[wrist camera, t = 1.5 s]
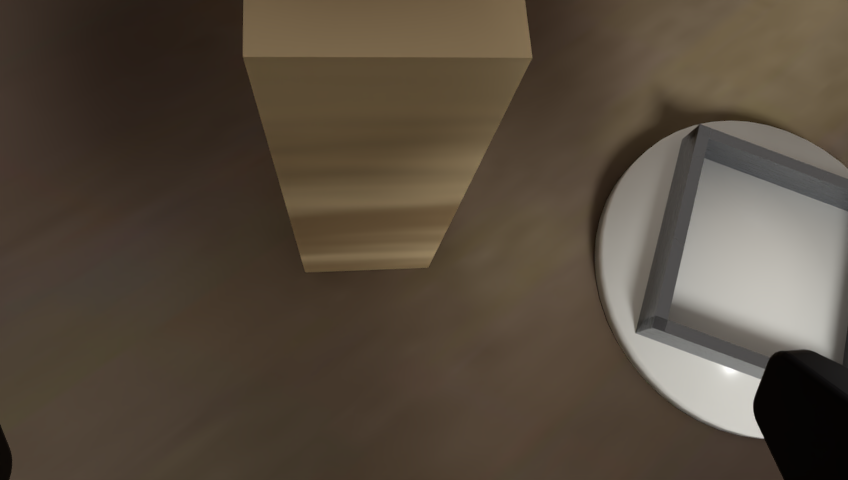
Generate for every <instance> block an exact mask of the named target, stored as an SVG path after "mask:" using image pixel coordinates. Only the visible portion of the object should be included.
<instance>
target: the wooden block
mask: <svg viewBox="0 0 848 480" xmlns="http://www.w3.org/2000/svg"><path fill="white" fill-rule="evenodd" d="M243 59H244V63H245V66H246V70H247V73H248V77H249V80H250V84H251V87H252V91H253V94H254V97H255V101H256V104H257V108H258V111H259V115H260V118H261V122H262V125H263V128H264V132H265V135H266V139H267V142H268V146H269V149H270V153H271V156H272V160H273V163H274V166H275V170H276V173H277V177H278V180H279V184H280V187H281V191H282V194H283V198H284V201H285V204H286V208H287V211H288V215H289V218H290V222H291V225H292V229H293V232H294V236H295V239H296V242H297V246H298V249H299V253H300V256H301V260H302V263H303V267H304V270H305V272H330V271H356V270H381V269H407V268H428V267H429V265H430V263H431V261H432V259H433V257H434V255H435V253H436V251H437V249H438V247H439V245H440V243H441V241H442V239H443V237H444V235H445V233H446V231H447V229H448V227H449V225H450V223H451V221H452V219H453V217H454V215H455V213H456V211H457V209H458V207H459V205H460V203H461V201H462V199H463V197H464V195H465V193H466V190H467V188H468V186H469V184H470V182H471V180H472V178H473V176H474V174H475V172H476V170H477V168H478V166H479V164H480V162H481V160H482V158H483V156H484V154H485V152H486V150H487V148H488V146H489V144H490V142H491V140H492V138H493V136H494V134H495V132H496V130H497V128H498V126H499V124H500V122H501V120H502V118H503V116H504V114H505V112H506V110H507V108H508V106H509V104H510V102H511V100H512V98H513V96H514V94H515V92H516V90H517V88H518V86H519V84H520V82H521V80H522V78H523V76H524V74H525V72H526V70H527V68H528V66H529V64H530V61H531V59H532V51H531V43H530V35H529V28H528V20H527V12H526V4H525V0H243Z"/></svg>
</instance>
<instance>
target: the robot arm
mask: <svg viewBox="0 0 848 480" xmlns="http://www.w3.org/2000/svg"><path fill="white" fill-rule="evenodd" d="M753 413H754V416H755V420H756V422H757V424H758V427H759V429H760V431H761V433H762V435H763V437H764V439H765V441H766V443H767V445H768V448H769V450H770V452H771V454H772V456H773V458H774V460H775V462H776V464H777V466H778V468H779V471H780V473H781V475H782V477H783V479H784V480H848V367H845V366H843V365H841V364H839V363H837V362H835V361H833V360H831V359H829V358H827V357H825V356H822V355H820V354H818V353H816V352H814V351H811V350H806V349H799V350H782V351H778V352H775V353H774V354H773V355H772V356H771V357H770V358H769V360H768V362H767V365H766V368H765V370H764V373H763V376H762V378H761V381H760V384H759V386H758V389H757V392H756V394H755V397H754V400H753ZM11 470H12V455H11V451H10V448H9V445H8V443H7V440H6V438H5V435H4V433H3V430H2V428H1V425H0V480H9V479H10V475H11Z"/></svg>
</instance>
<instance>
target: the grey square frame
mask: <svg viewBox="0 0 848 480" xmlns="http://www.w3.org/2000/svg"><path fill="white" fill-rule="evenodd" d="M704 158H705V159H708V160H711V161H714V162H716V163H719V164H722V165H724V166H727V167H730V168H732V169H735V170H738V171H740V172H743V173H746V174H749V175H751V176H754V177H757V178H759V179H762V180H765V181H767V182H770V183H773V184H775V185H778V186H781V187H784V188H786V189H789V190H792V191H794V192H797V193H800V194H802V195H805V196H808V197H810V198H813V199H816V200H819V201H821V202H824V203H827V204H829V205H832V206H835V207H837V208H840V209H843V210H845V211H848V179H847V178H844V177H841V176H839V175H836V174H833V173H831V172H828V171H825V170H823V169H820V168H817V167H814V166H812V165H809V164H806V163H804V162H801V161H798V160H796V159H793V158H790V157H788V156H785V155H782V154H780V153H777V152H774V151H771V150H769V149H766V148H763V147H761V146H758V145H755V144H753V143H750V142H747V141H745V140H742V139H739V138H736V137H734V136H731V135H728V134H726V133H723V132H720V131H718V130H715V129H712V128H710V127H707V126H704V125H702V124H699V125H698V126H697V127H696V128H695V129H693V130H692V131H691V132H690V133H689V134H688V135H686V136H685V137H684V138H683V139H682V142H681V146H680V150H679V154H678V158H677V162H676V167H675V171H674V175H673V179H672V183H671V187H670V191H669V196H668V200H667V204H666V208H665V212H664V216H663V220H662V225H661V229H660V233H659V237H658V241H657V245H656V249H655V254H654V258H653V262H652V266H651V270H650V274H649V278H648V283H647V287H646V291H645V295H644V299H643V303H642V308H641V312H640V316H639V320H638V324H637V328H636V332H635V333H636V334H639V335H642V336H644V337H647V338H650V339H652V340H655V341H658V342H661V343H663V344H666V345H669V346H671V347H674V348H677V349H680V350H682V351H685V352H688V353H690V354H693V355H696V356H699V357H701V358H704V359H707V360H709V361H712V362H715V363H718V364H720V365H723V366H726V367H728V368H731V369H734V370H737V371H739V372H742V373H745V374H747V375H750V376H753V377H756V378H758V379H761V378H762V376H763V373H764V370H765V368H766V365H767V362H768V360H769V358H770V357H767V356H764V355H762V354H759V353H756V352H754V351H751V350H748V349H745V348H743V347H740V346H737V345H735V344H732V343H729V342H726V341H724V340H721V339H718V338H716V337H713V336H710V335H707V334H705V333H702V332H699V331H697V330H694V329H691V328H688V327H686V326H683V325H680V324H678V323H675V322H672V321H670V320H668V316H669V312H670V307H671V303H672V299H673V294H674V290H675V285H676V281H677V276H678V272H679V268H680V263H681V259H682V254H683V250H684V246H685V241H686V237H687V232H688V228H689V223H690V219H691V215H692V210H693V206H694V201H695V197H696V193H697V188H698V184H699V179H700V175H701V170H702V166H703V162H704ZM843 366H845V367H848V328H847V335H846V343H845V350H844V357H843Z"/></svg>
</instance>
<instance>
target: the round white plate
mask: <svg viewBox="0 0 848 480" xmlns="http://www.w3.org/2000/svg"><path fill="white" fill-rule="evenodd" d="M698 125H699V124H698ZM698 125H694V126H691V127H688V128H685V129H682V130H679V131H677V132H675V133H673V134H671V135H669V136H667V137H665V138H663V139H661V140H660V141H659V142H657V143H656V144H655V145H653V146H652V147H651V148H649V149H648V150H647V151H646V152H644V153H643V154H642V155H641V156H640V157H639V158H638V159H637V160H636V161H635V162H634V163H633V164H632V165H631V166H630V167H629V168H628V169H627V170H626V171H625V172H624V173H623V175H622V176H621V177H620V179H619V180H618V181H617V183H616V184H615V186H614V187H613V189H612V191H611V193H610V195H609V197H608V199H607V201H606V203H605V205H604V208H603V211H602V214H601V217H600V220H599V225H598V230H597V235H596V242H595V258H594V259H595V273H596V282H597V287H598V292H599V297H600V301H601V304H602V307H603V310H604V313H605V316H606V319H607V322H608V324H609V326H610V328H611V330H612V332H613V335H614V337H615V339H616V341H617V343H618V344H619V346H620V347H621V349H622V351H623V352H624V354H625V355H626V357H627V359H628V360H629V361H630V363H631V364H632V365H633V367H634V368H635V369H636V370H637V372H638V373H639V374H640V375H641V377H642V378H643V379H644V380H645V381H646V382H647V383H648V384H649V385H650V386H651V387H652V388H653V389H654V390H655V391H656V392H657V393H658V394H659V395H661V396H662V397H663V398H664V399H666V400H667V401H668V402H670V403H671V404H672V405H673V406H675V407H676V408H677V409H679V410H680V411H682V412H684V413H685V414H687V415H689V416H690V417H692V418H694V419H695V420H697V421H699V422H702V423H704V424H706V425H709V426H711V427H713V428H715V429H718V430H721V431H724V432H728V433H731V434H735V435H738V436H744V437H751V438H758V439H764V437H763V435H762V433H761V431H760V429H759V427H758V424H757V422H756V420H755V416H754V413H753V400H754V397H755V394H756V392H757V389H758V386H759V384H760V381H761V379H758V378H756V377H753V376H750V375H747V374H745V373H742V372H739V371H737V370H734V369H731V368H728V367H726V366H723V365H720V364H718V363H715V362H712V361H709V360H707V359H704V358H701V357H699V356H696V355H693V354H690V353H688V352H685V351H682V350H680V349H677V348H674V347H671V346H669V345H666V344H663V343H661V342H658V341H655V340H652V339H650V338H647V337H644V336H642V335H639V334H636V333H635V332H636V328H637V324H638V320H639V316H640V312H641V308H642V303H643V299H644V295H645V291H646V287H647V283H648V278H649V274H650V270H651V266H652V262H653V258H654V254H655V249H656V245H657V241H658V237H659V233H660V229H661V225H662V220H663V216H664V212H665V208H666V204H667V200H668V196H669V191H670V187H671V183H672V179H673V175H674V171H675V167H676V162H677V158H678V154H679V150H680V146H681V142H682V139H683V138H684V137H685V136H686V135H688V134H689V133H690V132H691V131H692V130H693V129H695V128H696V127H697V126H698ZM702 125H704V126H707V127H710V128H712V129H715V130H718V131H720V132H723V133H726V134H728V135H731V136H734V137H736V138H739V139H742V140H745V141H747V142H750V143H753V144H755V145H758V146H761V147H763V148H766V149H769V150H771V151H774V152H777V153H780V154H782V155H785V156H788V157H790V158H793V159H796V160H798V161H801V162H804V163H806V164H809V165H812V166H814V167H817V168H820V169H823V170H825V171H828V172H831V173H833V174H836V175H839V176H841V177H844V178H847V179H848V169H847V168H846V167H845V166H844V165H843V164H842V163H841V162H839V161H838V160H837V159H835V158H834V157H833V156H831V155H830V154H828V153H827V152H826V151H824V150H823V149H821V148H820V147H818V146H816V145H814V144H813V143H811V142H809V141H807V140H806V139H803V138H801V137H799V136H797V135H794V134H792V133H790V132H787V131H785V130H781V129H778V128H775V127H772V126H769V125H764V124H758V123H753V122H745V121H716V122H708V123H703V124H702ZM668 320H670V321H672V322H675V323H678V324H680V325H683V326H686V327H688V328H691V329H694V330H697V331H699V332H702V333H705V334H707V335H710V336H713V337H716V338H718V339H721V340H724V341H726V342H729V343H732V344H735V345H737V346H740V347H743V348H745V349H748V350H751V351H754V352H756V353H759V354H762V355H764V356H767V357H771V356H772V355H773V354H774V353H775V352H778V351H782V350H799V349H806V350H811V351H814V352H816V353H818V354H820V355H822V356H825V357H827V358H829V359H831V360H833V361H835V362H837V363H839V364H841V365H843V357H844V350H845V343H846V335H847V328H848V211H845V210H843V209H840V208H837V207H835V206H832V205H829V204H827V203H824V202H821V201H819V200H816V199H813V198H810V197H808V196H805V195H802V194H800V193H797V192H794V191H792V190H789V189H786V188H784V187H781V186H778V185H775V184H773V183H770V182H767V181H765V180H762V179H759V178H757V177H754V176H751V175H749V174H746V173H743V172H740V171H738V170H735V169H732V168H730V167H727V166H724V165H722V164H719V163H716V162H714V161H711V160H708V159H705V158H704V162H703V166H702V170H701V175H700V179H699V184H698V188H697V193H696V197H695V201H694V206H693V210H692V215H691V219H690V223H689V228H688V232H687V237H686V241H685V246H684V250H683V254H682V259H681V263H680V268H679V272H678V276H677V281H676V285H675V290H674V294H673V299H672V303H671V307H670V312H669V316H668Z"/></svg>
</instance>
